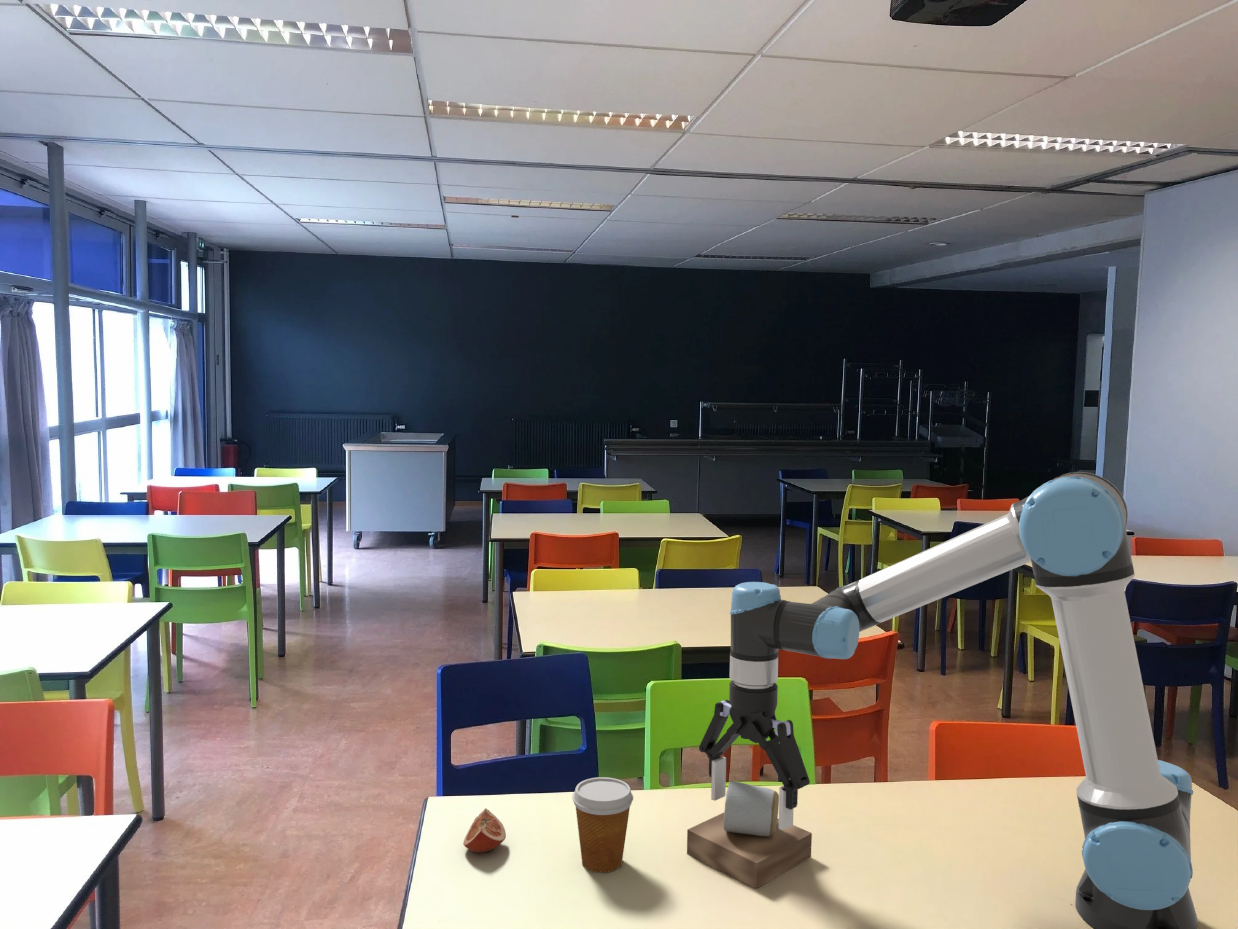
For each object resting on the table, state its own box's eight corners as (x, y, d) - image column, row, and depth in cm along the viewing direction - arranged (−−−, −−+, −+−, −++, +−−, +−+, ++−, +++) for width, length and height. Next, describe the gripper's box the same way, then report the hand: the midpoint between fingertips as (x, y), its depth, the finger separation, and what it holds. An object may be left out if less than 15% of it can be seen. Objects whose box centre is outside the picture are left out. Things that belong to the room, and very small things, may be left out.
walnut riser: (811, 857, 147) (811, 833, 147) (756, 889, 138) (756, 863, 138) (742, 826, 158) (743, 803, 157) (686, 853, 148) (687, 829, 148)
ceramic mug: (775, 846, 143) (777, 798, 142) (722, 839, 144) (723, 791, 144) (779, 816, 153) (781, 771, 152) (730, 810, 155) (731, 766, 154)
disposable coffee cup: (579, 882, 139) (580, 805, 138) (565, 851, 148) (566, 779, 147) (639, 874, 142) (641, 799, 141) (623, 844, 151) (624, 773, 150)
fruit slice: (467, 835, 153) (467, 806, 153) (508, 835, 153) (508, 806, 153) (460, 861, 145) (460, 831, 144) (503, 861, 145) (503, 831, 145)
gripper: (835, 695, 139) (831, 832, 141) (709, 659, 157) (707, 780, 159) (805, 707, 134) (801, 848, 135) (679, 668, 152) (677, 793, 154)
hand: (750, 812), depth 147 cm, fingers open, 13 cm apart
